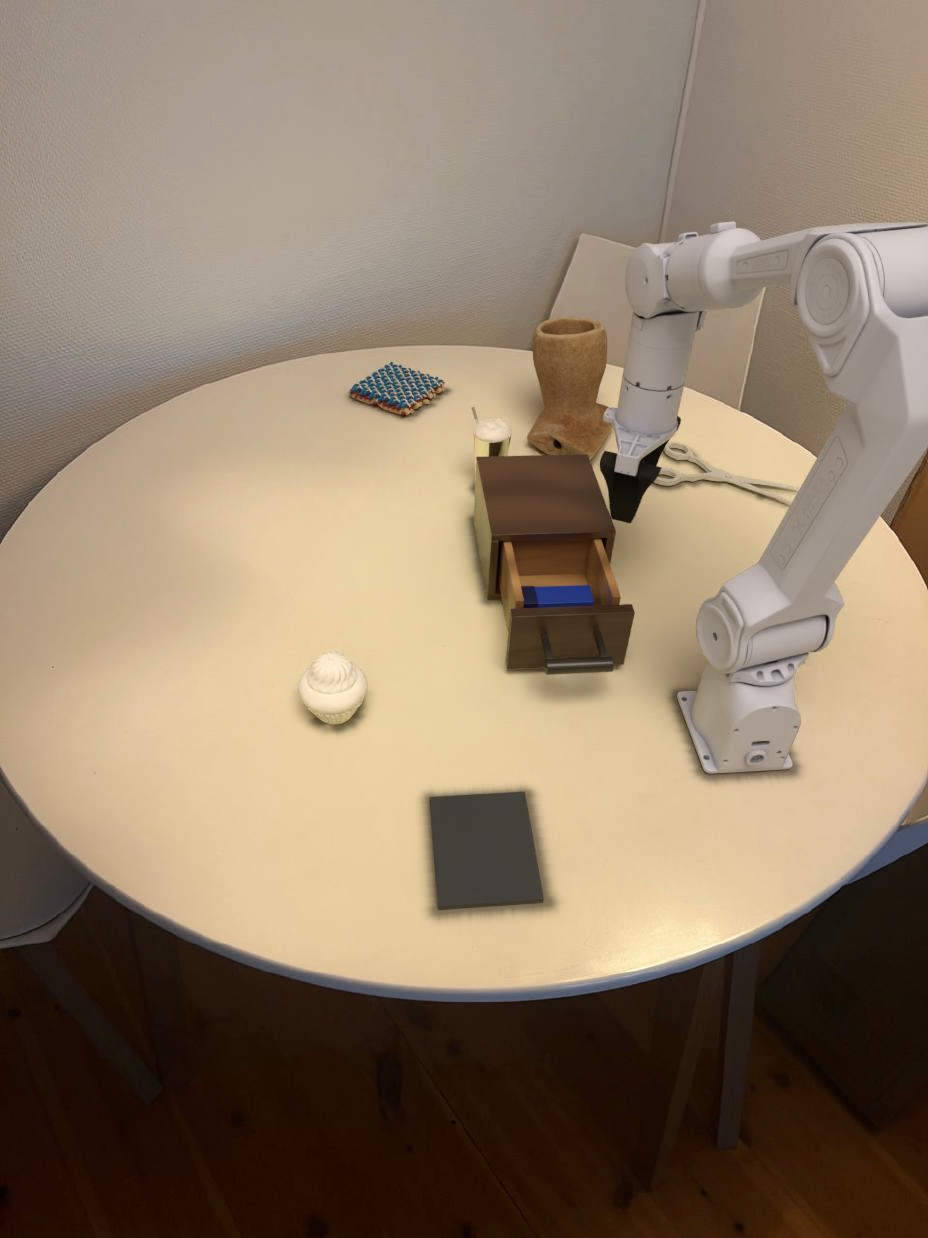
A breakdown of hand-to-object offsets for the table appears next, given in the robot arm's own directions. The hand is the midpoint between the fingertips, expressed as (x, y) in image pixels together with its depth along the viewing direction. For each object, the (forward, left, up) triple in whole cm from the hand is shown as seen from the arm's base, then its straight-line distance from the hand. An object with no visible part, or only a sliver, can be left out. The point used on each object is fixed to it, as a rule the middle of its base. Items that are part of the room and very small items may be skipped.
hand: (630, 499), depth 91 cm
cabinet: (+4, +9, -10) cm, 13 cm away
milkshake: (+18, +13, -10) cm, 24 cm away
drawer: (-11, +8, -9) cm, 16 cm away
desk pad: (-34, +19, -10) cm, 40 cm away
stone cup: (+30, +1, -10) cm, 31 cm away
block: (-8, +9, -8) cm, 14 cm away
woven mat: (+42, +23, -10) cm, 48 cm away
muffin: (-18, +31, -10) cm, 37 cm away
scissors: (+18, -17, -10) cm, 27 cm away
